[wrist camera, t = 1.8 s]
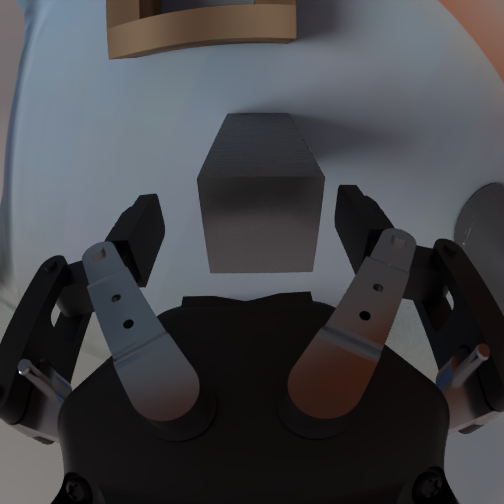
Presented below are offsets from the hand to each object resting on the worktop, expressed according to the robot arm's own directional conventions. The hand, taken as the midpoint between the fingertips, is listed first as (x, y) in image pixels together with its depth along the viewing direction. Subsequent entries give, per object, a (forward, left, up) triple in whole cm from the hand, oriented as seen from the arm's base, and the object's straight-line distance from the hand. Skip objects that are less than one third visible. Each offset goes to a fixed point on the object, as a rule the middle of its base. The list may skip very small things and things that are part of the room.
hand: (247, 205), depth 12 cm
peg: (-1, -1, -8) cm, 8 cm away
